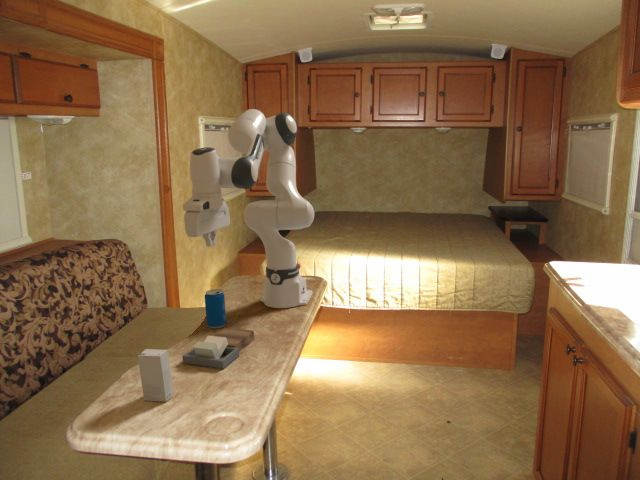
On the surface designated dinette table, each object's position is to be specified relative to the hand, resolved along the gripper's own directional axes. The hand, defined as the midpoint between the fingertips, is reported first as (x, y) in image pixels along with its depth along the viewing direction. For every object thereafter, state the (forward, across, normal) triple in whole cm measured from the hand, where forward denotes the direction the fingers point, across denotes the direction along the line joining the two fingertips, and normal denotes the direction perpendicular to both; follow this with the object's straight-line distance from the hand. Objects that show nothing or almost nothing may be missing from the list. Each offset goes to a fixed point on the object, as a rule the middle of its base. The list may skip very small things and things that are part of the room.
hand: (210, 245), depth 163 cm
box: (+29, +18, +9) cm, 35 cm away
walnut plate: (+29, +7, +9) cm, 31 cm away
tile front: (+26, +19, +9) cm, 33 cm away
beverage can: (+29, -6, -4) cm, 30 cm away
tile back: (+27, +15, +9) cm, 32 cm away
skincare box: (+29, +41, +8) cm, 51 cm away
